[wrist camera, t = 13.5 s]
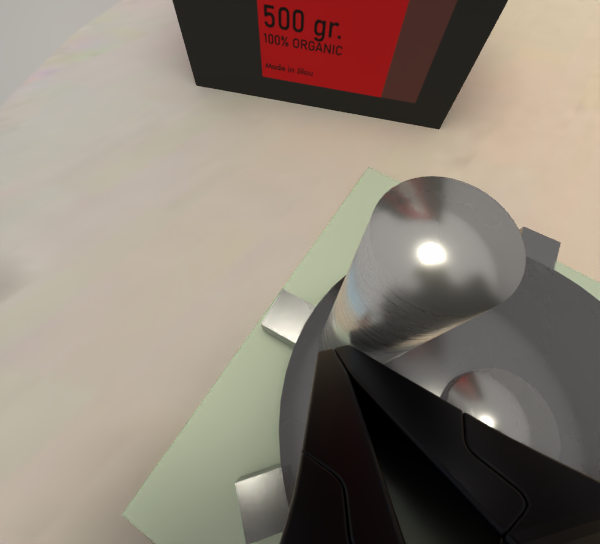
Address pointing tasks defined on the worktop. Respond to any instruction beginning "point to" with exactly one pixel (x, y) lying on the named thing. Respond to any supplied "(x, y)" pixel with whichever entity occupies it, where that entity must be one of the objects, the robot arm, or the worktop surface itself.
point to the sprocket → (446, 332)
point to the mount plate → (253, 402)
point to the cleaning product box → (340, 51)
